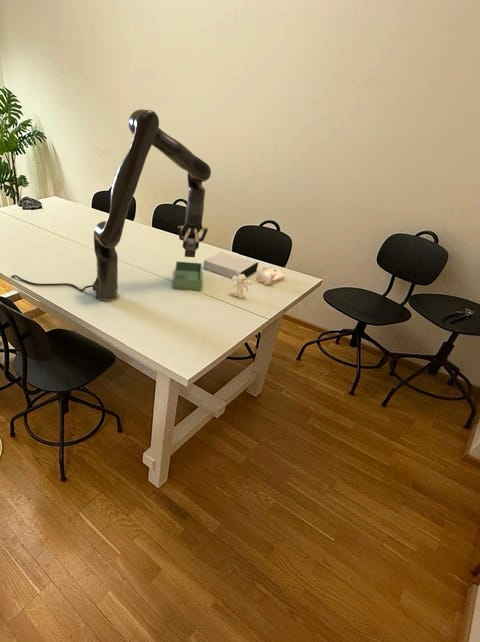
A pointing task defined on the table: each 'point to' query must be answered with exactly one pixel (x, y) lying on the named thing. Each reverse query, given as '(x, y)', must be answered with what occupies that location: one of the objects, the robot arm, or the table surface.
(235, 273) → the disc drive
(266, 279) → the cream lumpy rounded piece
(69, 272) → the table surface
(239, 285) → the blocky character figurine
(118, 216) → the robot arm
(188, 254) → the block
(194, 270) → the bin
